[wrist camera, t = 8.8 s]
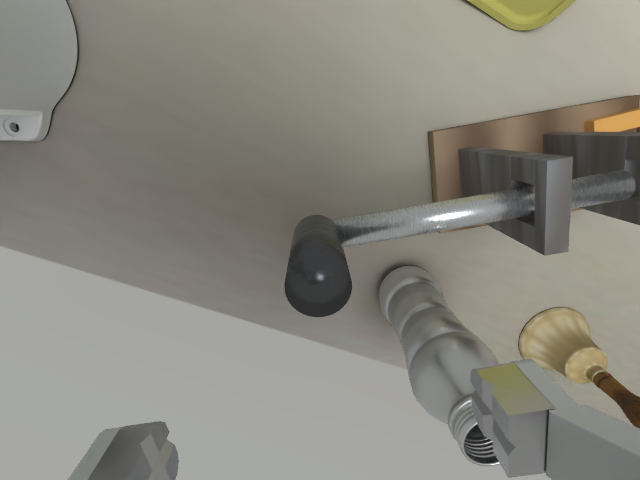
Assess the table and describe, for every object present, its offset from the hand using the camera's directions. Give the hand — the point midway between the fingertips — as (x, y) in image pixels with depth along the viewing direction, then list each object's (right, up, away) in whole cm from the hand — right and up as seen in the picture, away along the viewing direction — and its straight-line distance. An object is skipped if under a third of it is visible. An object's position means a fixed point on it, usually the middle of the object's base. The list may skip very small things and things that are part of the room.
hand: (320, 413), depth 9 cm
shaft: (+9, +7, +15) cm, 19 cm away
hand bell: (+28, -7, +32) cm, 43 cm away
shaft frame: (+21, +12, +26) cm, 35 cm away
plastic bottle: (+9, -1, +30) cm, 31 cm away
